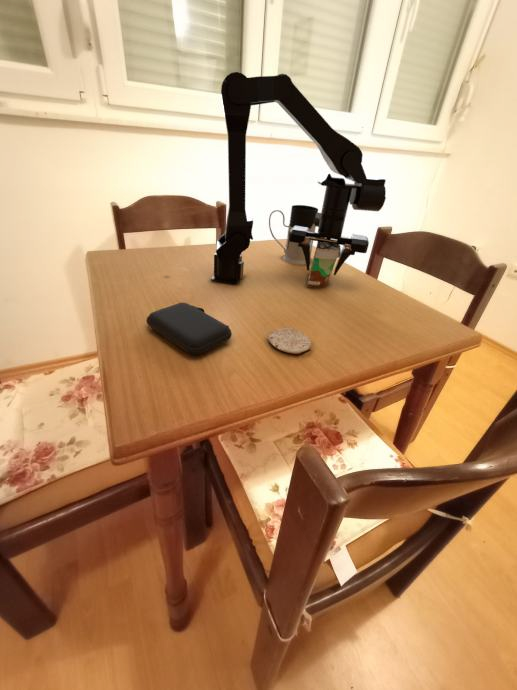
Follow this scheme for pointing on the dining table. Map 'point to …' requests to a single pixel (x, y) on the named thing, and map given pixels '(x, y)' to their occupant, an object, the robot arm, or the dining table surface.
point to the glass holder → (299, 217)
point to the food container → (323, 263)
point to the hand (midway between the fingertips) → (321, 272)
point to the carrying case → (189, 328)
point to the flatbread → (290, 340)
